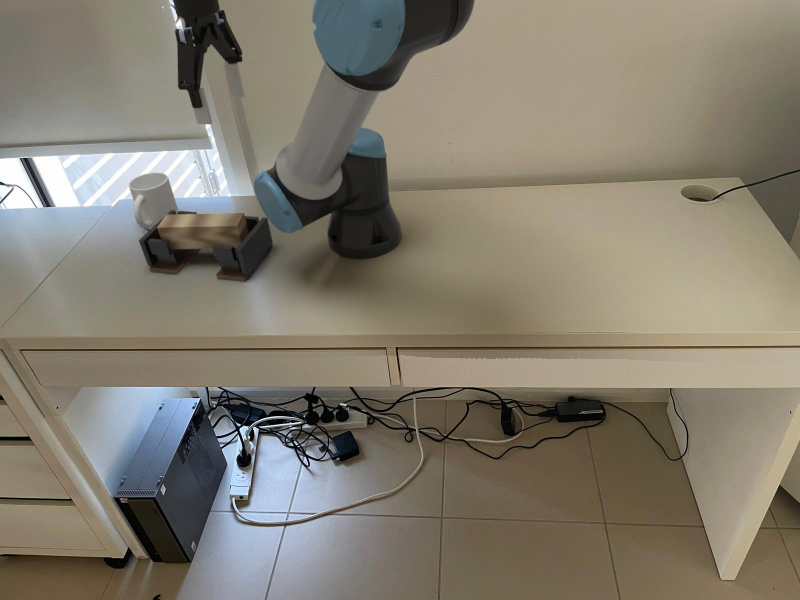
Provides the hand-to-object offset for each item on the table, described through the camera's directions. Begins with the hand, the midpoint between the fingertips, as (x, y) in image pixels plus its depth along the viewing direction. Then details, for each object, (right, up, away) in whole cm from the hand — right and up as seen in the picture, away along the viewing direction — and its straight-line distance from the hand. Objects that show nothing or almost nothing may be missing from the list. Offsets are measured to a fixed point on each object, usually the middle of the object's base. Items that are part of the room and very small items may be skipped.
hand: (222, 109), depth 123 cm
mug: (-20, -20, +20) cm, 35 cm away
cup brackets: (-4, -28, +8) cm, 29 cm away
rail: (-5, -25, +5) cm, 26 cm away
